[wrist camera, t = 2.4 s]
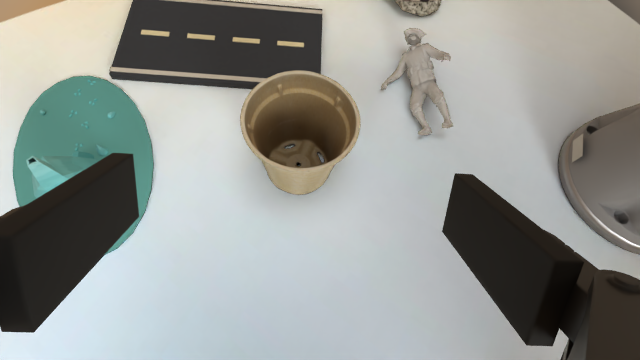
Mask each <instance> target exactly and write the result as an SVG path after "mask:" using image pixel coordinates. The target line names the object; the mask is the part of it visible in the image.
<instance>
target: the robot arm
mask: <svg viewBox="0 0 640 360" xmlns="http://www.w3.org/2000/svg"><path fill="white" fill-rule="evenodd" d="M559 174H560V179H561V182H562V186H563V188H564V191H565V193H566V195H567V197H568V199H569V201H570V202H571V204H572V206H573V207H574V209H575V210H576V211H577V213H578V214H579V215H580V216H581V218H582V219H583V220H584V221H585V222H586V223H587V224H588V225H589V226H590V227H591V228H592V229H593V230H595V231H596V232H597V233H598V234H600V235H601V236H602V237H604V238H605V239H607V240H608V241H610V242H611V243H613V244H615V245H617V246H619V247H621V248H623V249H625V250H628V251H631V252H633V253H637V254H640V104H637V105H634V106H631V107H628V108H624V109H621V110H618V111H615V112H612V113H609V114H606V115H603V116H600V117H597V118H595V119H593V120H591V121H589V122H587V123H585V124H584V125H583V126H581V127H580V128H579V129H577V130H576V131H575V132H573V133H572V134H571V135H570V136H569V137H568V138H567V139H566V141H565V142H564V144H563V146H562V149H561V151H560V156H559ZM138 217H139V209H138V199H137V189H136V178H135V168H134V158H133V154H128V153H111V154H110V155H108V156H106V157H105V158H103V159H101V160H100V161H98V162H96V163H95V164H93V165H92V166H90V167H88V168H87V169H85V170H83V171H82V172H80V173H78V174H77V175H75V176H73V177H72V178H70V179H68V180H67V181H65V182H63V183H62V184H60V185H58V186H57V187H55V188H53V189H52V190H50V191H48V192H47V193H45V194H43V195H42V196H40V197H38V198H37V199H35V200H33V201H32V202H30V203H28V204H27V205H24V206H21V207H18V208H15V209H12V210H11V211H9V212H7V213H6V214H4V215H2V216H0V327H1V331H2V332H35V331H36V329H37V328H38V327H39V326H40V325H41V324H42V323H43V322H44V321H45V320H46V318H47V317H48V316H49V315H50V314H51V313H52V312H53V311H54V310H55V309H56V307H57V306H58V305H59V304H60V303H61V302H62V301H63V300H64V299H65V298H66V296H67V295H68V294H69V293H70V292H71V291H72V290H73V289H74V288H75V287H76V286H77V284H78V283H79V282H80V281H81V280H82V279H83V278H84V277H85V276H86V275H87V273H88V272H89V271H90V270H91V269H92V268H93V267H94V266H95V265H96V264H97V262H98V261H99V260H100V259H101V258H102V257H103V256H104V255H105V254H106V253H107V251H108V250H109V249H110V248H111V247H112V246H113V245H114V244H115V243H116V242H117V241H118V239H119V238H120V237H121V236H122V235H123V234H124V233H125V232H126V231H127V230H128V228H129V227H130V226H131V225H132V224H133V223H134V222H135V221H136V220H137V219H138ZM442 232H443V233H444V235H445V236H446V237H447V239H448V240H449V241H450V243H451V244H452V245H453V247H454V248H455V249H456V251H457V252H458V253H459V255H460V256H461V258H462V259H463V260H464V262H465V263H466V264H467V266H468V267H469V268H470V270H471V271H472V272H473V274H474V275H475V276H476V278H477V279H478V280H479V282H480V283H481V285H482V286H483V287H484V289H485V290H486V291H487V293H488V294H489V295H490V297H491V298H492V299H493V301H494V302H495V303H496V305H497V306H498V308H499V309H500V310H501V312H502V313H503V314H504V316H505V317H506V318H507V320H508V321H509V322H510V324H511V325H512V326H513V328H514V329H515V330H516V332H517V333H518V335H519V336H520V337H521V339H522V340H523V341H524V343H525V344H526V345H531V346H553V343H554V341H555V338H556V335H557V333H558V330H559V328H560V329H561V330H562V331H563V332H564V334H565V335H566V336H567V337H568V338H569V340H568V342H567V345H566V347H565V350H564V352H563V355H562V357H561V360H640V280H639V279H637V278H634V277H632V276H630V275H627V274H624V273H620V272H617V271H612V270H599V269H597V268H596V267H595V266H593V265H592V264H591V263H590V262H588V261H587V260H586V259H584V258H583V257H582V256H580V255H579V254H578V253H577V252H574V250H573V249H571V248H570V247H569V246H567V245H565V243H564V242H562V241H561V240H560V239H558V238H557V237H556V236H554V235H553V234H551V233H549V232H547V231H545V230H543V229H541V228H540V227H539V226H538V225H536V224H535V223H534V222H532V221H531V220H530V219H529V218H527V217H526V216H525V215H524V214H522V213H521V212H520V211H518V210H517V209H516V208H515V207H513V206H512V205H511V204H509V203H508V202H507V201H506V200H504V199H503V198H502V197H501V196H499V195H498V194H497V193H495V192H494V191H493V190H492V189H490V188H489V187H488V186H487V185H485V184H484V183H483V182H481V181H480V180H479V179H478V178H476V177H475V176H474V175H472V174H455V176H454V180H453V185H452V189H451V194H450V198H449V203H448V208H447V212H446V217H445V221H444V226H443V230H442Z"/></svg>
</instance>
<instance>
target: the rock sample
mask: <svg viewBox="0 0 640 360" xmlns="http://www.w3.org/2000/svg"><path fill="white" fill-rule="evenodd" d="M395 2H396V3H397V4H398V5H399V7H400V8H401V9H402V10H403V11H406V12H409V13H411V14H412V13H413V14H416V15H419V16H422V17H423V16H425V15H429V14H431V13H432V12H435V11H437V10H438V8H439V6H440V3H441V0H395Z"/></svg>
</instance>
